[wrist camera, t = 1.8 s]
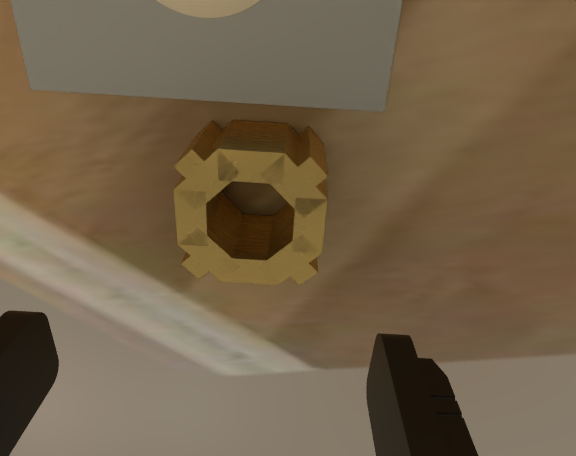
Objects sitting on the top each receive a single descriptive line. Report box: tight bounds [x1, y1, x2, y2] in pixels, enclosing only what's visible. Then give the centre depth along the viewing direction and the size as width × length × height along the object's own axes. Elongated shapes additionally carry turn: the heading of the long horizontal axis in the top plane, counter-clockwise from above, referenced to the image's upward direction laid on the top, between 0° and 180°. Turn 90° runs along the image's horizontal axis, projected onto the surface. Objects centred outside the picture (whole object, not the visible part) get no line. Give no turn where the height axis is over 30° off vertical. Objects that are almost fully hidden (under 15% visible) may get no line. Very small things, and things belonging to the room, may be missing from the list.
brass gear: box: [173, 120, 328, 285], centre depth 18 cm, size 6×6×4 cm
